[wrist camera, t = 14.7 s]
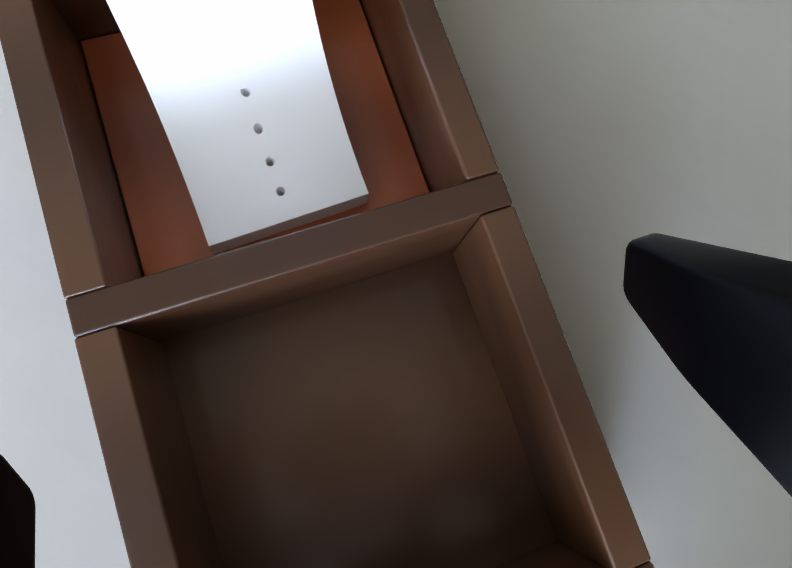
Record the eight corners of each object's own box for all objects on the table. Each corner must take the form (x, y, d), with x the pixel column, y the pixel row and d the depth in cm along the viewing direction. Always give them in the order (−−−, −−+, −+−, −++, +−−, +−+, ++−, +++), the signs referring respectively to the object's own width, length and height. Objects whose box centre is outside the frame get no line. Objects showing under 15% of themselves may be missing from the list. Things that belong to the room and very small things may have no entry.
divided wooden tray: (589, 556, 17) (669, 603, 13) (229, 706, 15) (190, 816, 11) (369, -34, 20) (377, -145, 16) (52, 37, 18) (-28, -68, 14)
